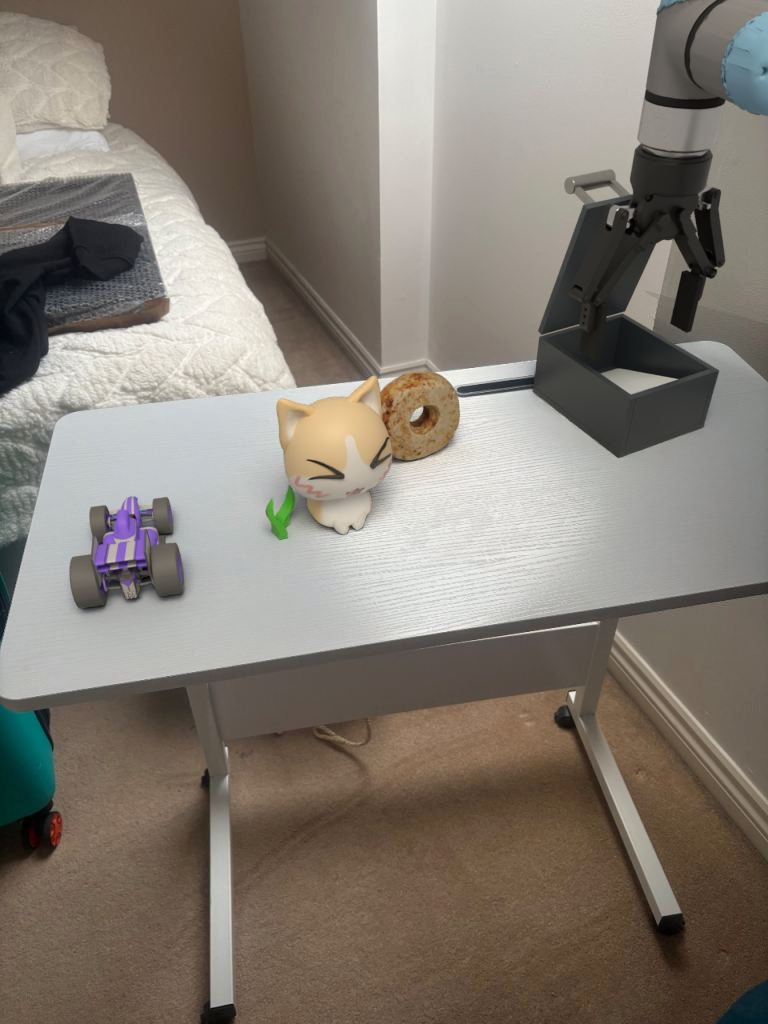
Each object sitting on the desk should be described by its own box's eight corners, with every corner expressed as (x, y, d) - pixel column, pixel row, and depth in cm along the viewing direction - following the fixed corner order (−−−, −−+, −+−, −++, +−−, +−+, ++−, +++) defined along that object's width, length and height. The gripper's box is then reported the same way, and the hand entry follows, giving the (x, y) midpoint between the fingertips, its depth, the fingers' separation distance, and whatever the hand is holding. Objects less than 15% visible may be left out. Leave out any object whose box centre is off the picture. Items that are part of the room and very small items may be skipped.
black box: (703, 427, 99) (719, 370, 94) (618, 458, 95) (630, 399, 90) (612, 366, 111) (622, 312, 106) (532, 391, 106) (538, 336, 101)
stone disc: (383, 473, 93) (382, 396, 87) (369, 456, 95) (367, 380, 89) (463, 449, 96) (468, 374, 90) (448, 433, 99) (452, 359, 93)
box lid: (681, 188, 91) (638, 148, 95) (587, 209, 87) (545, 166, 90) (625, 311, 105) (588, 272, 109) (541, 335, 101) (506, 293, 105)
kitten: (285, 567, 81) (270, 440, 72) (253, 509, 88) (236, 386, 79) (421, 524, 86) (424, 400, 77) (380, 472, 93) (378, 352, 84)
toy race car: (182, 505, 89) (171, 455, 85) (185, 603, 78) (173, 551, 73) (90, 517, 87) (75, 467, 83) (79, 619, 76) (61, 567, 72)
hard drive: (567, 382, 103) (633, 395, 92) (620, 367, 106) (691, 378, 95) (569, 395, 104) (634, 409, 93) (621, 380, 107) (691, 392, 96)
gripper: (737, 121, 89) (693, 305, 103) (549, 155, 80) (527, 352, 94) (794, 137, 84) (739, 329, 97) (599, 177, 75) (569, 381, 88)
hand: (635, 341), depth 96 cm, fingers open, 13 cm apart
